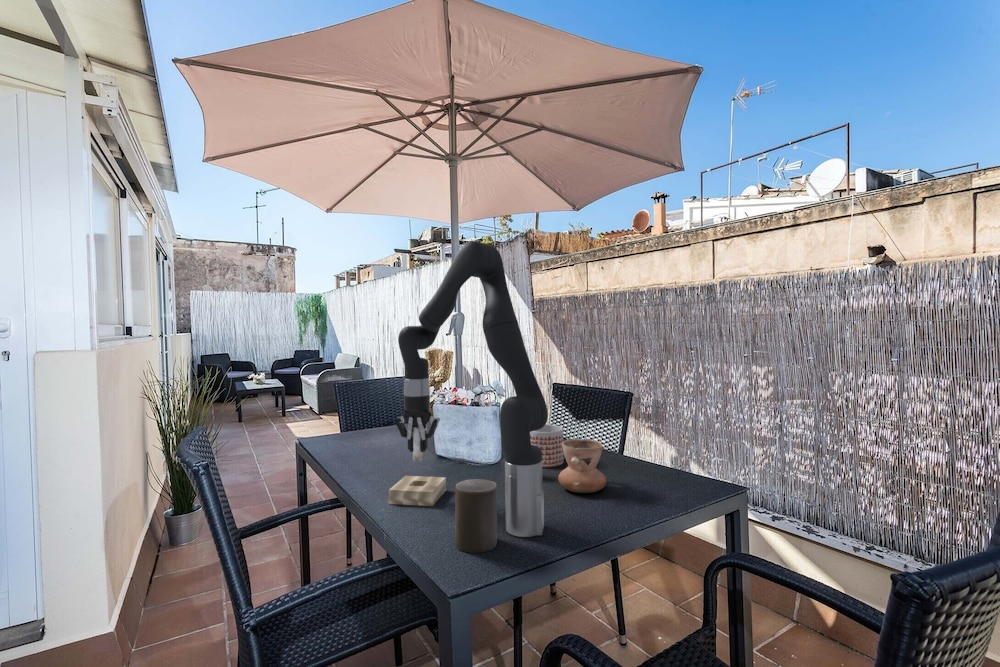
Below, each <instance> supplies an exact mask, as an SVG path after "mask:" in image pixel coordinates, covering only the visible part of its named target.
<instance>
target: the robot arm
mask: <svg viewBox="0 0 1000 667" xmlns="http://www.w3.org/2000/svg"><path fill="white" fill-rule="evenodd" d="M503 262H504V261H503V258H502V255H501V254H500V251H499V250H498V249H497V247H495V246H493V245H491V244H489V243H484V242H480V241H477V240H476V241H475V240H470V241H467V242H465V243H464V244H463V245H462V246H461V247H460V249H459V250H458V252H457V253H456V254H455V256H454V259H453V260H452V263H451V265H450V267H449V268H448V270H447V272H446V274H445V276H444V277H443V279H442V282H441V283H440V285H439V287H438V288H437V290H436V292H435V293H434V294H433V296H432V297H431V299H430V300H429V301H428V302H427V304H426V305H425V306H424V308H422V310H421V311H420V313H419V315H418V321H419V324H420V325H409V326H408V325H407V326H404V327H403V328H401V330H400V331H399V333H398V337H397V338H398V346H399V350H400V354H401V358H402V361H403V365H404V381H403V382H404V383H403V410H404V411H403V413H402V416H398V417H396V418H394V421H395V422H394V423H395V424H396V427H397V429H398V431H399V435H400V437H402V438H405V439H407V449H408V451H409V452H410V453H413V437H412V428H413V427H419V431H420V433H421V438H422V440H421V452H423V453H425V452H426V451H427V449H429V448H428V447H429V446H428V441H429V440H428V439H430V438H432V437H433V436H434V435H435V433H436V430H437V427H438V426H439V423H440V420H441V419H440V417H435V416H433V415H432V412H431V402H430V399H431V391H430V389H431V388H430V387H431V386H430V385H431V384H430V381H429V380H430V379H429V374H430V372H429V370H430V369H429V361H428V359H426V358H424V357H421V356H420V354H419V350H420V351H421V350H425V349H428V348H430V347H431V346H432V345H434V342H435V340H436V338H437V336H438V335H439V334H438V333H439V332H440V329H441V327H442V326H443V325H444V323H445V322H446V321H447V320H448V319H449V317H450V316H451V314H452V313H453V312H454V310H455V307H456V304H457V298H458V295H459V291H460V289H461V288H462V287H463V285H464V284H465V283H466V282H467V281H468V280H469V279H470V278H472V277H473V278H479V280H480V282H481V285H482V288H483V289H482V290H483V291H484V297H485V305H484V311H483V316H482V329H483V335H484V339H485V342H486V345H487V348H488V351H489V352H490V354H491V356H492V357H493V358H494V360H495V362H496V363H497V364H498V365H499V366H500V367H501V369H503V371H504V372H505V373H506V375H507V376H508V377H509V379H510V381H511V384H512V386H513V389H514V393H515V396H511V397H508V398H506V399H505V400H504V401H503V402H502V404H501V406H500V411H499V428H500V441H501V442H500V443H501V449H502V451H503V454H504V492H505V494H504V497H505V530H506V532H507V533H508V534H510V535H512V536H515V537H520V538H529V537H530V538H531V537H535V536H543V532H544V527H545V505H544V504H545V501H544V500H545V499H544V497H545V494H544V493H545V492H544V491H545V490H544V488H543V487H544V486H543V468H542V450H541V449H540V448H539V447H537V446H535V445H532V444H531V441H530V432H532V431H535V430H539V429H541V428H543V427H544V426H545V424H547V422H548V418H549V411H548V407H547V404H546V400H545V398H544V394H543V392H542V391H541V388H540V386H539V383H538V381H537V378H536V376H535V374H534V371H533V367H532V365H531V361H530V358H529V356H528V352H527V349H526V346H525V342H524V339H523V335H522V331H521V327H520V325H519V322H518V318H517V316H516V314H515V310H514V306H513V301H512V299H511V294H510V293H509V288H508V283H507V278H506V274H505V273H506V272H505V267H504V263H503ZM405 422H406V424H407V428H406V424H405ZM429 422H430V425H431V426H430V427H429V430H428V425H427V424H428V423H429Z"/></svg>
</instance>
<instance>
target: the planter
mask: <svg viewBox="0 0 1000 667" xmlns="http://www.w3.org/2000/svg"><path fill="white" fill-rule="evenodd" d="M530 441H531V444H532V445H535V446H537V447H539V448H540V449H541V450H542V469H543V468H544V469H547V468H550V469H551V468H556V467H559V466H562V465H563V464H564V463H565V462H564V458H565V457H564V452H563V447H562V443H563V442H564V428H563V427H562V426H559V425H556V424H548V423H546V424H545V426H544V427H543V428H541V429H539V430H535V431H532V432H530Z"/></svg>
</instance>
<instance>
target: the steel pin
mask: <svg viewBox="0 0 1000 667" xmlns="http://www.w3.org/2000/svg"><path fill="white" fill-rule="evenodd" d="M412 437H413V452H412V461H413V462H422V461H423V460H424V452H421V440H422V438H421V433H420V431H419V427H413V428H412Z"/></svg>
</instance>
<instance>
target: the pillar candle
mask: <svg viewBox="0 0 1000 667" xmlns="http://www.w3.org/2000/svg"><path fill="white" fill-rule="evenodd" d="M497 486H498V485H497V483H496V482H494V481H492V480H488V479H479V478H475V479H465V480H461V481H459V482H457V483H456V485H455V497H454V498H455V499H454V500H455V503H454V504H455V508H454V509H455V513H454V514H455V517H454V520H455V521H454V522H455V523H454V525H455V528H454V529H455V532H454V534H455V536H454V538H455V539H454V541H455V547H456V548H457V549H458V550H459V551H462V552H464V553H465V552H466V553H469V554H480V553H481V554H482V553H485V552H488V551H491V550H494V549H495V548H496V547H497V544H498V530H497V529H498V511H497V510H498V507H497V506H498V497H497V496H498V494H497V492H498V491H497V489H498V488H497Z"/></svg>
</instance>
